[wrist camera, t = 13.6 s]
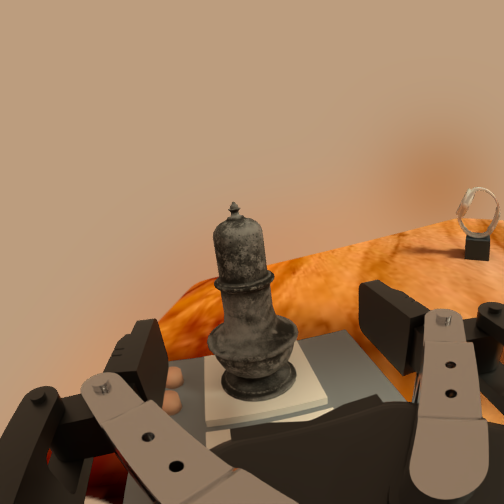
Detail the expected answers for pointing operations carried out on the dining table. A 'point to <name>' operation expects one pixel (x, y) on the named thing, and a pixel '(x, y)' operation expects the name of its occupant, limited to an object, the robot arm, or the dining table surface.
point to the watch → (477, 242)
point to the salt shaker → (249, 316)
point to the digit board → (274, 410)
